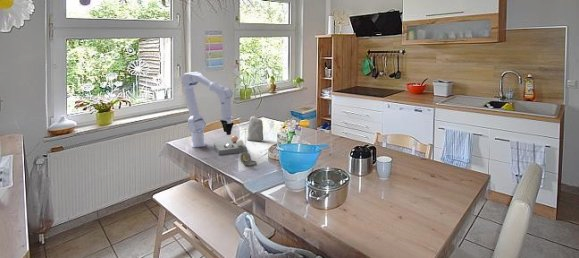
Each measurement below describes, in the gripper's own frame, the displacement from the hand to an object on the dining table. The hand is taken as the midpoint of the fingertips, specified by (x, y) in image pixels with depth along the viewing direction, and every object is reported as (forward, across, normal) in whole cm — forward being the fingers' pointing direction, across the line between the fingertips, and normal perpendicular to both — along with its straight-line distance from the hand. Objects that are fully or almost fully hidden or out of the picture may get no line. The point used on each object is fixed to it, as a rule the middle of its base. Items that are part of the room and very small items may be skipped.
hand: (227, 133), depth 214 cm
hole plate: (+10, +3, -2) cm, 11 cm away
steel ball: (+8, 0, 0) cm, 8 cm away
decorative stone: (+11, +15, -20) cm, 27 cm away
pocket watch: (+10, -28, -4) cm, 31 cm away
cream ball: (+6, -2, -6) cm, 9 cm away
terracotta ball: (+6, +7, -6) cm, 11 cm away
